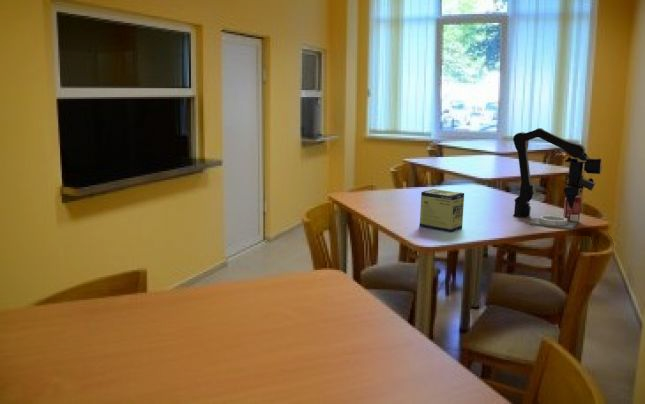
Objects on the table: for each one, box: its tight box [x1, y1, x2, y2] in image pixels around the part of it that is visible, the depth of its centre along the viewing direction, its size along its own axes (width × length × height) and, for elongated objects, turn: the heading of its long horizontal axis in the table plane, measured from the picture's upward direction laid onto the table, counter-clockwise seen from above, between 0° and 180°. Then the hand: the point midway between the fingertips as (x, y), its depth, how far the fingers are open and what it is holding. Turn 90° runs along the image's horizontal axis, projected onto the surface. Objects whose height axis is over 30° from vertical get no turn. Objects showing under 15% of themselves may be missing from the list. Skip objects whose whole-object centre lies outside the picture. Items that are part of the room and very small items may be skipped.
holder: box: [528, 215, 578, 231], centre depth 261 cm, size 18×12×3 cm, turn 59°
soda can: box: [562, 195, 582, 223], centre depth 267 cm, size 7×7×12 cm
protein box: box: [419, 189, 465, 233], centre depth 251 cm, size 10×16×16 cm
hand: (572, 206), depth 267 cm, fingers closed on soda can, 7 cm apart
